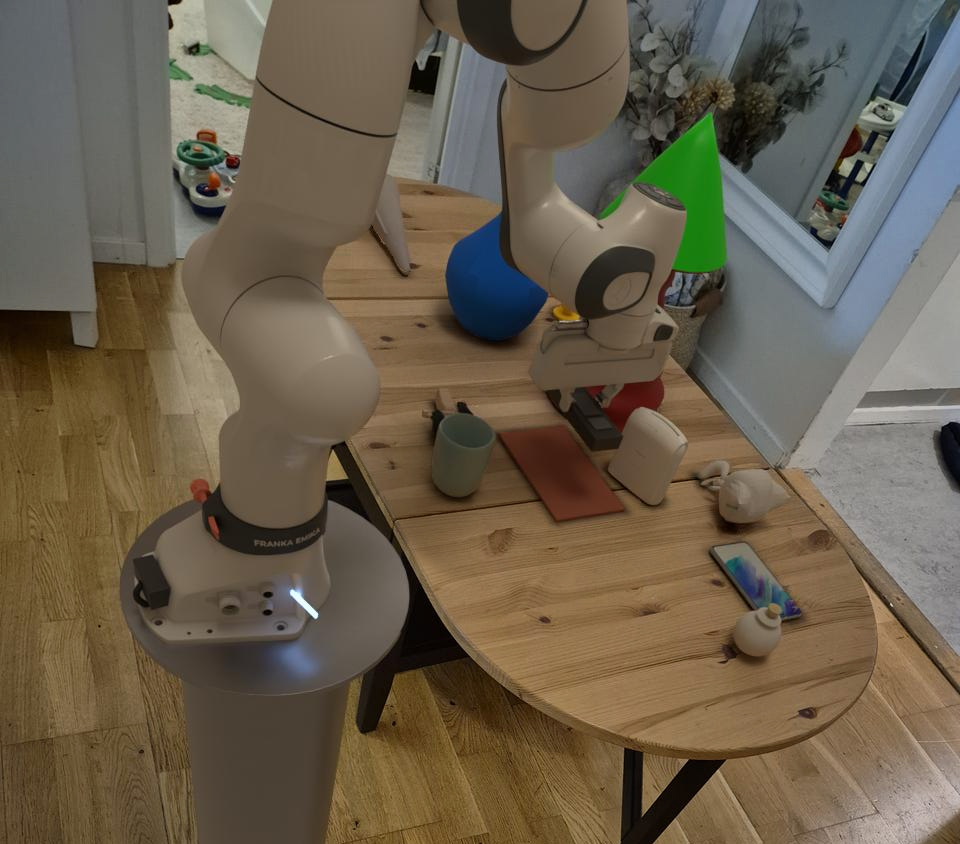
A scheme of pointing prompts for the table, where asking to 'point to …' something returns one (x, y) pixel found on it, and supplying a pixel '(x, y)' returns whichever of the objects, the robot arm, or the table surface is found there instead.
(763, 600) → the smartphone
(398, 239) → the grey long tapered piece
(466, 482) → the cup
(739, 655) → the table surface
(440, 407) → the toy figure
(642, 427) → the photo printer
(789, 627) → the table surface
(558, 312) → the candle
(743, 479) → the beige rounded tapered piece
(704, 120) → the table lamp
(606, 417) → the remote
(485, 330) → the vase
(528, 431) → the mat
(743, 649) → the ornament
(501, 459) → the table surface
